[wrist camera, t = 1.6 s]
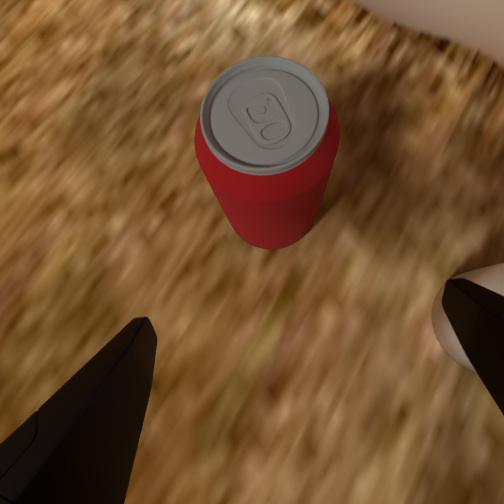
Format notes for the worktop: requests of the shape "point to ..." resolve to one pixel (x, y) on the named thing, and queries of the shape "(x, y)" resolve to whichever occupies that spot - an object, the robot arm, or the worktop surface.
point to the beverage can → (267, 148)
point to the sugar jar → (492, 277)
